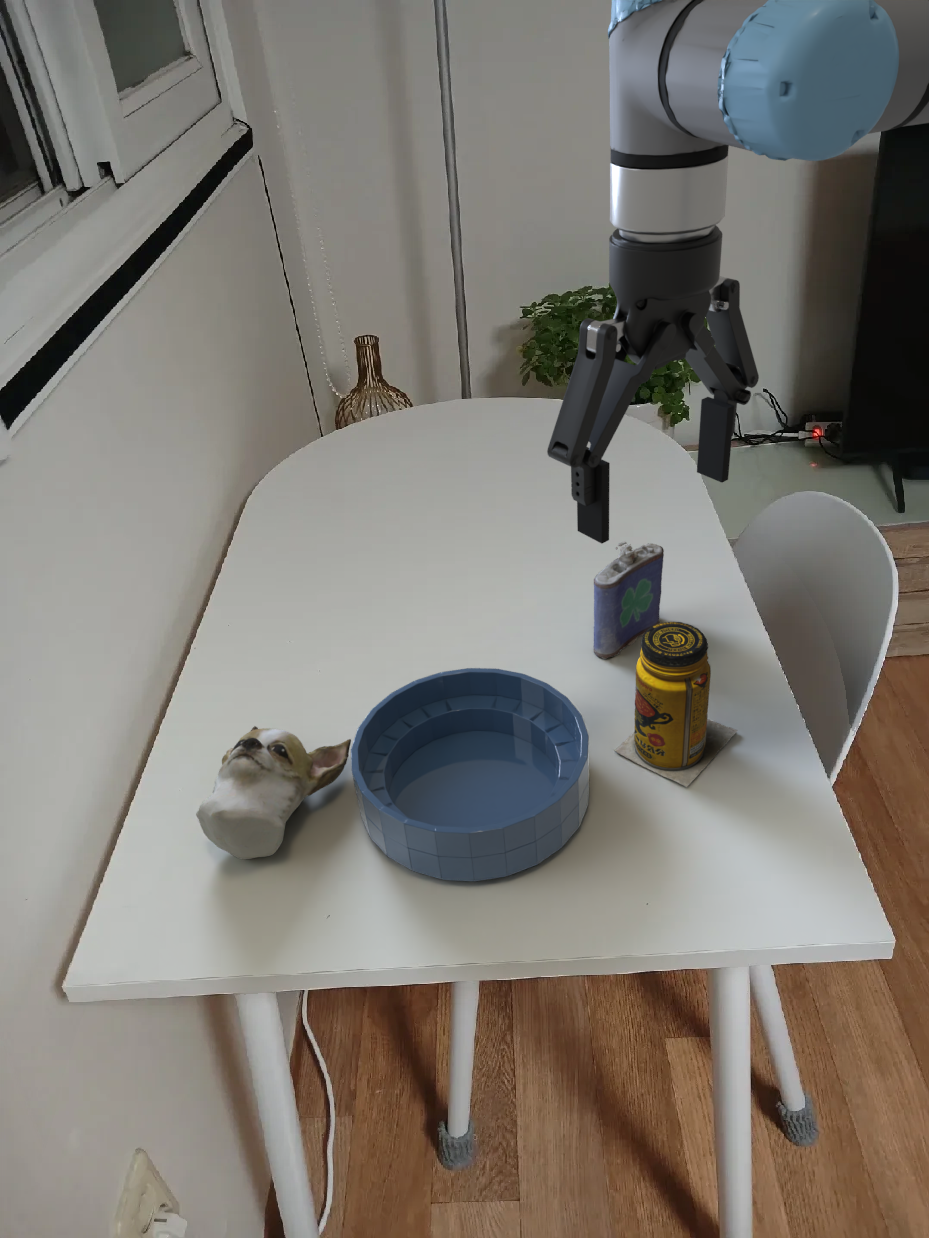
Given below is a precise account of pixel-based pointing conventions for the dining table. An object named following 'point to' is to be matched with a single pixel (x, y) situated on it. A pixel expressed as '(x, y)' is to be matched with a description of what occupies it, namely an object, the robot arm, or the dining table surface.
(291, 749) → the ceramic sculpture
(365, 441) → the dining table surface
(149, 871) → the dining table surface
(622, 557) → the flask
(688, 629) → the condiment
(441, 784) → the basin
